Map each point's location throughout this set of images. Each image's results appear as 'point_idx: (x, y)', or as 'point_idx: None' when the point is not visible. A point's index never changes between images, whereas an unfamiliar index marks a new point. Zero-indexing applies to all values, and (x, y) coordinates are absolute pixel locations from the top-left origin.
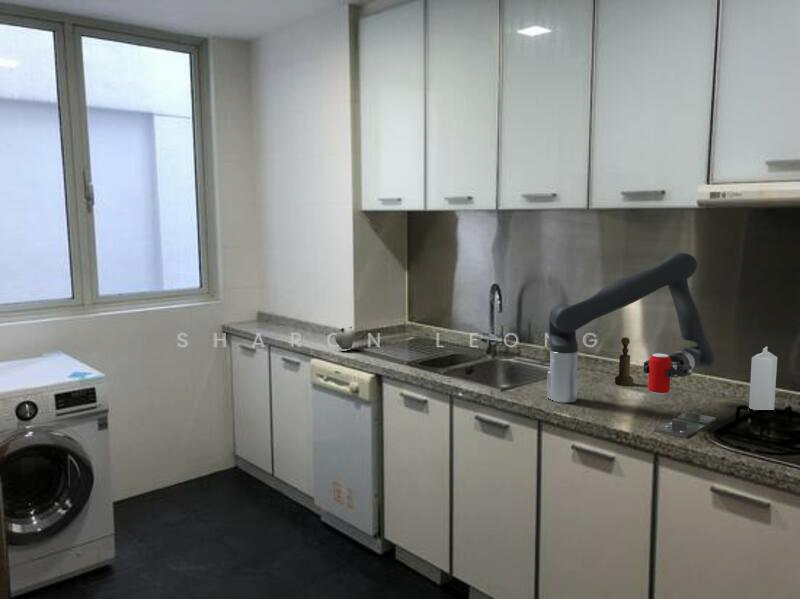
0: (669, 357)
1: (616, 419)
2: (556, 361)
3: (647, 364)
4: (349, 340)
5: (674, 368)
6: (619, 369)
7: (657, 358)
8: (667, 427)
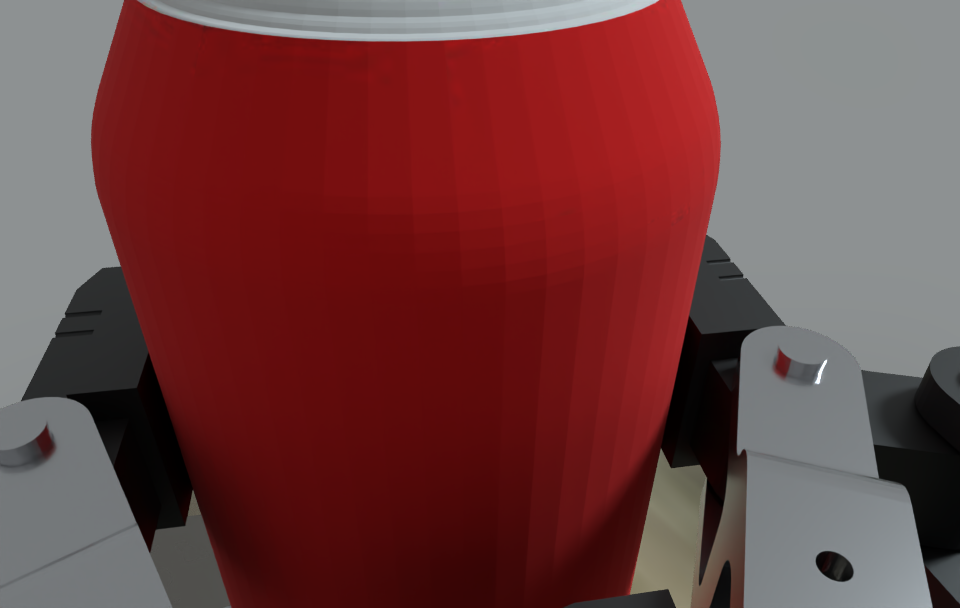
0: (118, 33)
1: (687, 549)
2: None
3: (938, 432)
4: None
5: (42, 401)
6: None
7: None
8: (223, 605)
